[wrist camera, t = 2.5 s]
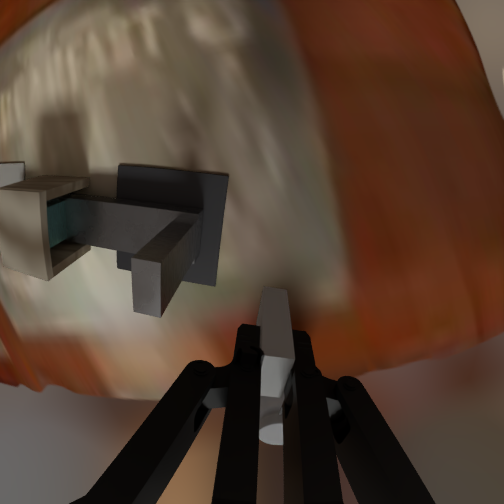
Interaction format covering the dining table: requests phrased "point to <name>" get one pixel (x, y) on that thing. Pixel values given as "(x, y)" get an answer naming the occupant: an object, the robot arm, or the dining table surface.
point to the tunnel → (35, 226)
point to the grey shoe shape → (181, 194)
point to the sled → (133, 240)
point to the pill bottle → (271, 420)
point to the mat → (11, 173)
